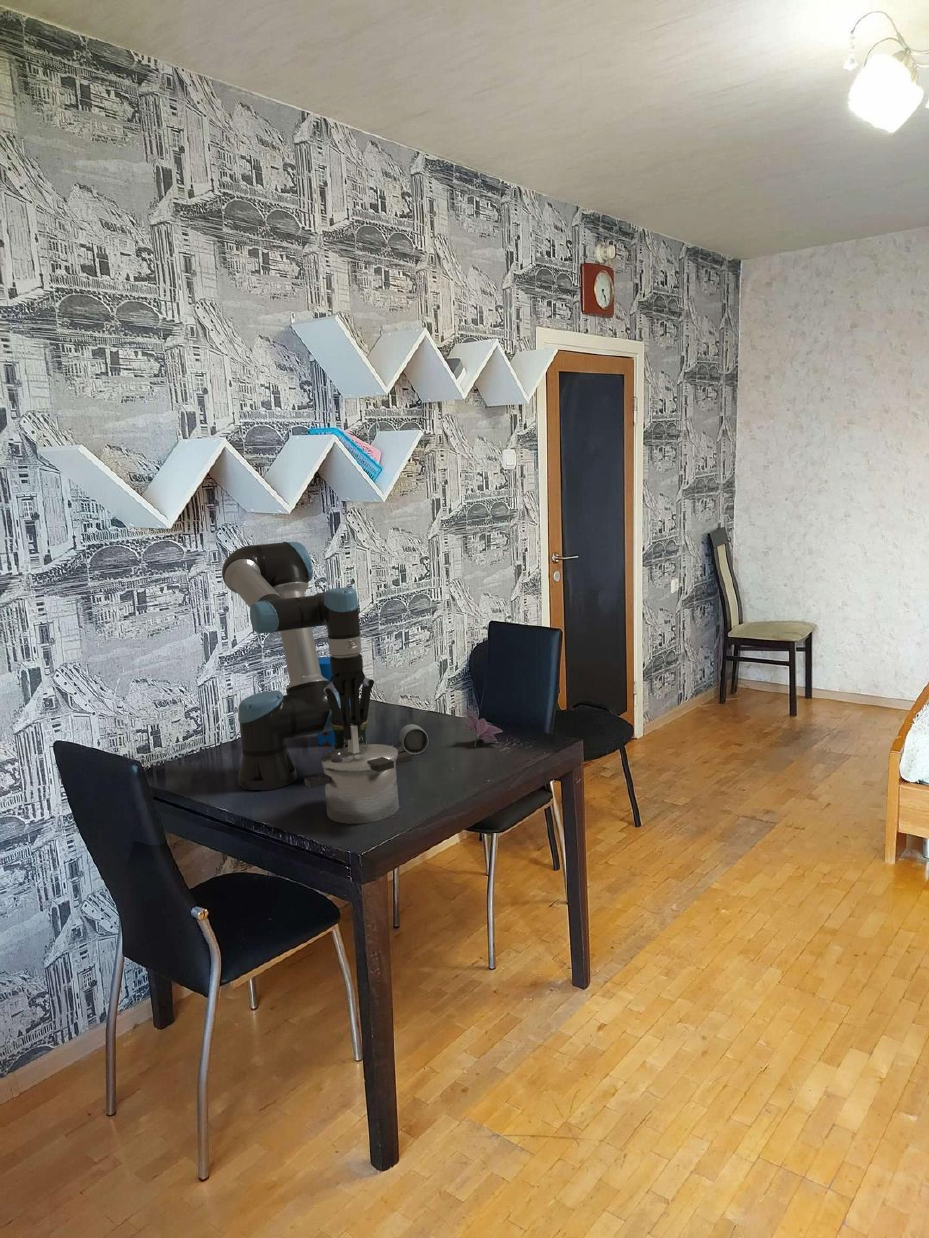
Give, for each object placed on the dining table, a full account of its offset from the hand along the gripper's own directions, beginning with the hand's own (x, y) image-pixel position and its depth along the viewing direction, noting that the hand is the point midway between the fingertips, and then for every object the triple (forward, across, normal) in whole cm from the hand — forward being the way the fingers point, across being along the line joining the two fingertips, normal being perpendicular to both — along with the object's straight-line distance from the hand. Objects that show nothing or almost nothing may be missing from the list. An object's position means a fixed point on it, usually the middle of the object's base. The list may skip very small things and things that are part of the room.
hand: (353, 751), depth 210 cm
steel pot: (+14, 0, -2) cm, 14 cm away
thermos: (+14, +21, +54) cm, 59 cm away
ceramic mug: (+14, +32, +28) cm, 45 cm away
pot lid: (+1, 0, -5) cm, 5 cm away
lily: (+14, +50, +18) cm, 56 cm away
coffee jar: (+14, +10, +22) cm, 28 cm away
